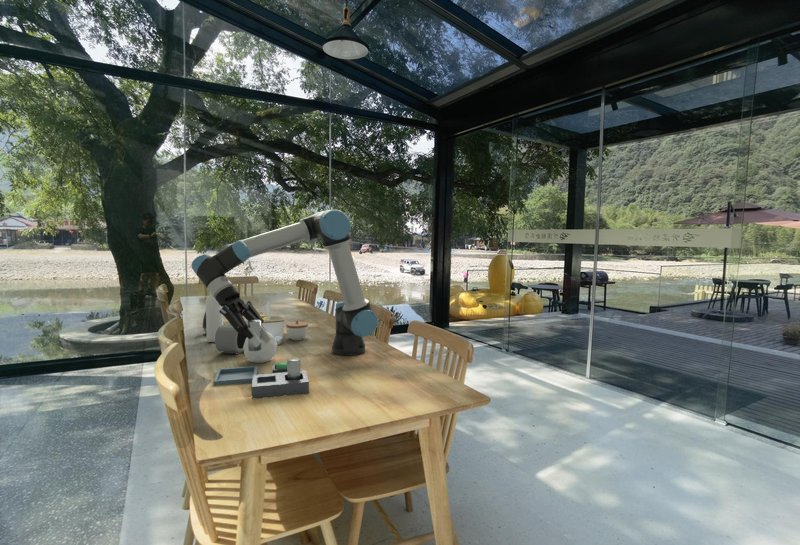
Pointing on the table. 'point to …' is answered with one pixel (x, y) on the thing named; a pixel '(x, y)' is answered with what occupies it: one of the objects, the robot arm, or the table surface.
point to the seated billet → (293, 369)
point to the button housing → (277, 369)
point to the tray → (235, 375)
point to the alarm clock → (229, 339)
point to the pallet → (278, 385)
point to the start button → (281, 365)
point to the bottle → (212, 317)
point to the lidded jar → (297, 330)
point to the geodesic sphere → (261, 351)
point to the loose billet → (257, 329)
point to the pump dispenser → (204, 323)
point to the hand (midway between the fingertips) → (263, 342)
